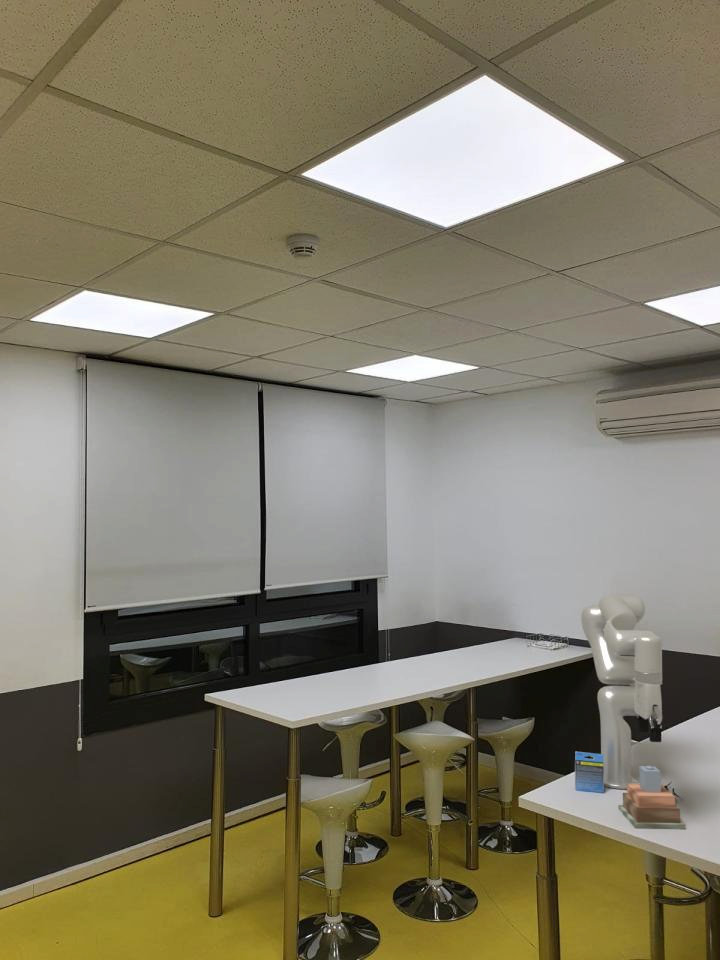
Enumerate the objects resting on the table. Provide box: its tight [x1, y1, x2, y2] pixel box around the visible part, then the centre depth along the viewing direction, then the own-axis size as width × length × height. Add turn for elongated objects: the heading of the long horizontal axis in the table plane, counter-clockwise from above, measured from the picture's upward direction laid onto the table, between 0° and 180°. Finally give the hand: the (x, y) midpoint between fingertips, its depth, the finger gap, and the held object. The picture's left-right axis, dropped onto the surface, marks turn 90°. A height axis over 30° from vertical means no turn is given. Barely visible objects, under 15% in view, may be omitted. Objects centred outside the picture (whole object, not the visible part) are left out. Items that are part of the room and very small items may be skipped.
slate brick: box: [638, 765, 662, 793], centre depth 213 cm, size 4×4×7 cm
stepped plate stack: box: [618, 783, 686, 830], centre depth 212 cm, size 14×14×8 cm
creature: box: [664, 781, 684, 804], centre depth 227 cm, size 8×5×8 cm
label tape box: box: [574, 751, 605, 794], centre depth 235 cm, size 9×4×12 cm, turn 74°
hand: (649, 736), depth 214 cm, fingers open, 9 cm apart
